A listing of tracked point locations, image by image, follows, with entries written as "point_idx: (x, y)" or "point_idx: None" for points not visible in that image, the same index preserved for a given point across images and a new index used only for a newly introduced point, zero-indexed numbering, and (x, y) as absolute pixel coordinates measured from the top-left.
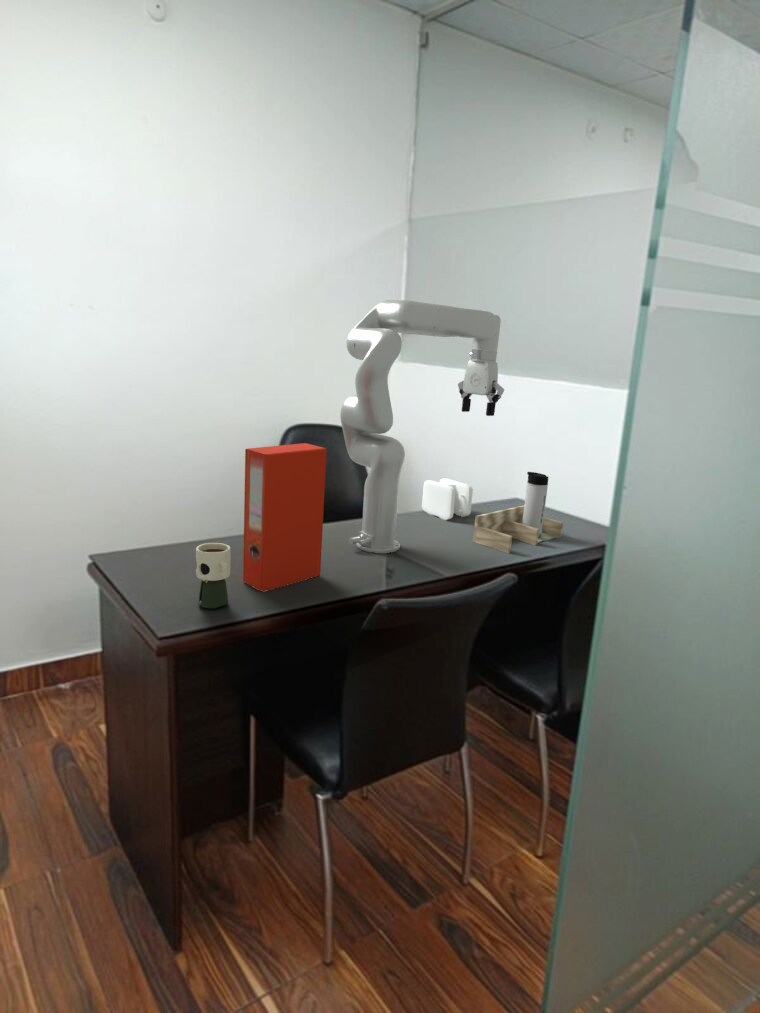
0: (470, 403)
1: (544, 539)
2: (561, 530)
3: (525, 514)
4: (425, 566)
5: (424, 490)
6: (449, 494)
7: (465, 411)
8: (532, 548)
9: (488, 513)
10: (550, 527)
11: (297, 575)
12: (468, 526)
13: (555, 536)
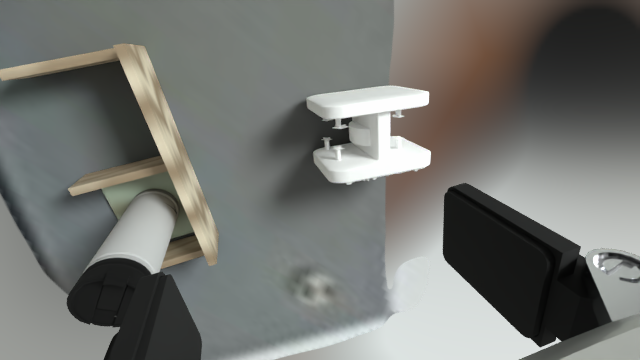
0: (492, 305)
1: (117, 215)
2: None
3: (142, 209)
4: None
5: (412, 89)
6: (327, 102)
7: (447, 216)
8: (62, 154)
9: (145, 102)
10: None
11: None
12: (261, 118)
13: None
